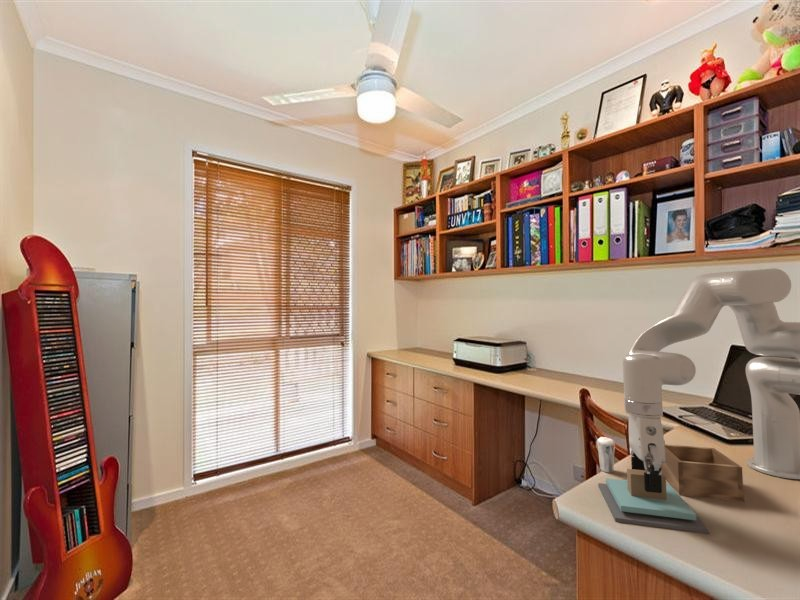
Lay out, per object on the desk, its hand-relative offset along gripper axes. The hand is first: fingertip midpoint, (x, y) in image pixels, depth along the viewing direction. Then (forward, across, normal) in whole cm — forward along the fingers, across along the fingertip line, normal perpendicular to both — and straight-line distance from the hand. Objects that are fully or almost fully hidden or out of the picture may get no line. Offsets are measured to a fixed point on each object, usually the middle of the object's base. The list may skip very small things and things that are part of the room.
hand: (645, 482), depth 87 cm
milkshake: (+6, +20, +4) cm, 21 cm away
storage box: (+6, +15, -16) cm, 23 cm away
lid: (+4, 0, 0) cm, 4 cm away
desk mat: (+6, 0, 0) cm, 6 cm away
